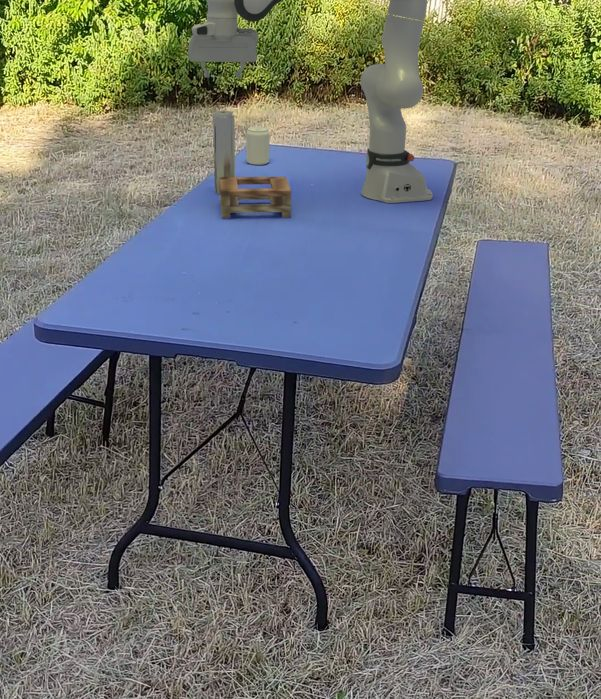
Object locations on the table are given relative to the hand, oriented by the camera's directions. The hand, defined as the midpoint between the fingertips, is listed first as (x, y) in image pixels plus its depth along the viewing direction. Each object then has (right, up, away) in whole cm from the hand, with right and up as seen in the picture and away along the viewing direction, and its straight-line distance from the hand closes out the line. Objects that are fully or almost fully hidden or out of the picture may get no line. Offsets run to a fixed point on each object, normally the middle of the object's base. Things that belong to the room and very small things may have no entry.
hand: (223, 77), depth 254 cm
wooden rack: (+9, -39, 0) cm, 41 cm away
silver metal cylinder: (-1, -31, +16) cm, 35 cm away
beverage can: (+8, -15, +49) cm, 52 cm away
